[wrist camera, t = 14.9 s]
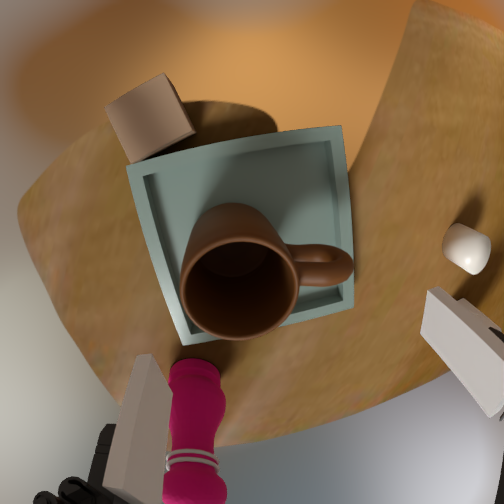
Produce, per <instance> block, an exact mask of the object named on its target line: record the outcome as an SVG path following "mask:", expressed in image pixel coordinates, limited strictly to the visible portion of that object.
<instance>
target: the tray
mask: <svg viewBox="0 0 504 504" xmlns="http://www.w3.org/2000/svg"><path fill="white" fill-rule="evenodd" d="M126 169H127V173H128V178H129V182H130V186H131V190H132V194H133V198H134V201H135V205H136V209H137V213H138V216H139V220H140V223H141V227H142V230H143V233H144V237H145V240H146V243H147V247H148V250H149V253H150V256H151V259H152V262H153V265H154V269H155V272H156V275H157V277H158V280H159V283H160V286H161V289H162V292H163V295H164V297H165V300H166V303H167V306H168V308H169V311H170V314H171V316H172V319H173V321H174V324H175V327H176V329H177V332H178V334H179V337H180V339H181V342H182V344H183V346H184V345H190V344H196V343H202V342H208V341H213V340H219V339H221V338H218V337H215V336H212V335H210V334H208V333H206V332H204V331H203V330H202V329H200V328H199V327H198V326H197V325H195V324H194V323H193V321H192V320H191V319H190V318H189V317H188V315H187V314H186V312H185V310H184V308H183V306H182V302H181V299H180V272H181V266H182V261H183V258H184V254H185V250H186V247H187V244H188V240H189V237H190V234H191V231H192V229H193V227H194V225H195V223H196V222H197V220H198V219H199V218H200V217H201V215H203V214H204V213H205V212H206V211H208V210H209V209H211V208H213V207H215V206H217V205H220V204H224V203H242V204H246V205H249V206H251V207H253V208H255V209H257V210H258V211H260V212H261V213H262V214H263V215H264V216H265V217H266V218H267V219H268V220H269V222H270V223H271V225H272V226H273V227H274V229H275V230H276V231H277V233H278V234H279V236H280V237H281V239H282V240H283V242H284V243H286V244H295V245H302V244H325V245H331V246H335V247H337V248H340V249H342V250H344V251H345V252H347V253H348V254H349V255H350V256H351V258H352V259H353V236H352V219H351V205H350V193H349V183H348V173H347V164H346V156H345V149H344V141H343V134H342V127H341V125H338V126H326V127H317V128H307V129H298V130H290V131H283V132H275V133H269V134H262V135H256V136H250V137H244V138H239V139H233V140H228V141H223V142H218V143H213V144H209V145H204V146H200V147H195V148H191V149H187V150H183V151H178V152H174V153H171V154H167V155H163V156H159V157H155V158H152V159H148V160H145V161H141V162H138V163H135V164H131V165H128V166H126ZM353 263H354V261H353ZM353 307H354V270H353V273H352V274H351V276H350V277H349V278H348V280H347V281H344V282H342V283H340V284H337V285H333V286H328V287H314V286H300V290H299V295H298V299H297V302H296V304H295V307H294V309H293V310H292V312H291V314H290V315H289V316H288V318H287V319H286V320H285V321H284V322H283V323H282V324H281V325H280V326H279V327H281V326H285V325H289V324H293V323H297V322H302V321H305V320H309V319H313V318H317V317H321V316H325V315H328V314H332V313H336V312H339V311H343V310H346V309H350V308H353Z"/></svg>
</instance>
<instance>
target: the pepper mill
mask: <svg viewBox="0 0 504 504" xmlns="http://www.w3.org/2000/svg"><path fill="white" fill-rule="evenodd" d="M168 383H169V384H168V385H169V387H170V389H171V391H172V392H173V397H172V404H171V412H170V420H169V428H170V431H171V435H172V451H171V452H170V453H169V454H168V455H167V456H166V460H167V463H166V468H167V470H168V472H167V473H165V474H164V478H163V491H162V500H163V502H164V503H165V504H225V501H226V498H227V488H226V485H225V482H224V481H223V479H222V478H220V477H219V476H218V475H217V474H218V473H219V471H220V468H219V466H218V464H219V460H218V458H217V457H216V456H215V455H214V449H213V448H214V437H215V433H216V431H217V429H218V427H219V425H220V423H221V421H222V419H223V416H224V413H225V407H226V399H225V395H224V393H223V391H222V390H221V388H220V373H219V371H218V370H217V368H216V367H215V366H214V365H212V364H211V363H209V362H207V361H204V360H202V359H195V358H189V359H184V360H180V361H178V362H177V363H175V364H174V365H173V366H172V368H171V369H170V373H169V381H168Z"/></svg>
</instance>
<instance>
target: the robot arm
mask: <svg viewBox="0 0 504 504" xmlns="http://www.w3.org/2000/svg"><path fill="white" fill-rule="evenodd" d="M420 334H421V335H422V337H423V338H424V339H425V340H426V341H427V342H428V343H429V344H430V346H431V347H432V348H433V349H434V350H435V351H436V353H437V354H438V355H439V356H440V357H441V358H442V360H443V361H444V362H445V363H446V364H447V366H448V367H449V368H450V369H451V370H452V371H453V373H454V374H455V375H456V376H457V378H458V379H459V380H460V381H461V383H462V384H463V385H464V386H465V388H466V389H467V390H468V391H469V393H470V394H471V395H472V396H473V398H474V399H475V400H476V402H477V403H478V404H479V405H480V407H481V408H482V409H483V411H484V412H485V413H486V415H487V416H488V417H489V418H491V417H492V416H493V415H495V414H496V413H497V412H499V411H500V410H501V408H502V407H503V405H504V334H503V333H501V332H500V331H499V330H497V329H495V328H493V327H489V328H487V327H486V326H485V325H484V324H483V323H482V322H481V321H479V320H478V319H477V318H476V317H475V316H474V315H473V314H471V313H470V312H469V311H468V310H467V309H466V308H464V307H463V306H462V305H461V304H460V303H458V302H457V301H456V300H455V299H454V298H452V297H451V296H450V295H449V294H448V293H446V292H445V291H444V290H443V289H441V288H440V287H439V286H438V287H435V288H432V289H430V290H427V297H426V304H425V310H424V316H423V321H422V327H421V332H420ZM172 397H173V392H172V391H171V389H170V387H169V385H168V383H167V382H166V380H165V378H164V376H163V374H162V372H161V370H160V368H159V366H158V364H157V362H156V361H155V359H154V357H153V355H152V354H145V355H137V357H136V360H135V363H134V366H133V369H132V373H131V376H130V379H129V382H128V386H127V389H126V392H125V396H124V399H123V403H122V406H121V410H120V413H119V417H118V421H117V424H106V426H105V427H104V428H103V430H102V431H101V433H100V435H99V439H98V442H97V444H98V445H97V446H96V450H95V454H94V457H93V461H92V465H91V469H90V473H89V477H88V482H85V481H84V480H82V479H80V478H79V477H68V478H66V479H65V480H63V481H62V482H61V484H60V486H59V489H58V495H59V497H56V496H55V495H53V494H52V493H50V492H48V491H41V492H39V493H38V494H37V495H36V496H35V498H34V500H33V504H162V491H163V478H164V467H165V455H166V446H167V437H168V428H169V420H170V412H171V404H172ZM503 418H504V412H503V414H502V415H501V417H500V421H502V419H503ZM495 504H504V455H503V462H502V469H501V475H500V480H499V486H498V490H497V495H496V499H495Z"/></svg>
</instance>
